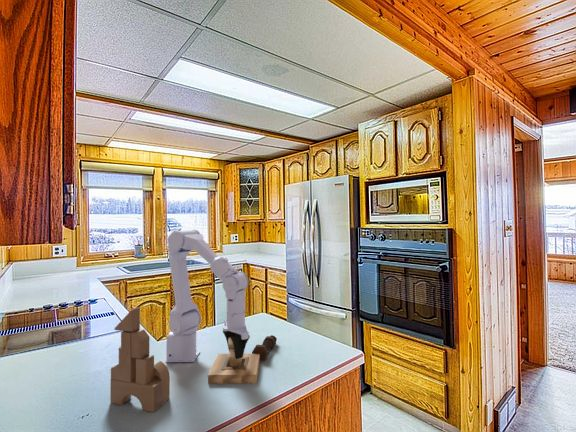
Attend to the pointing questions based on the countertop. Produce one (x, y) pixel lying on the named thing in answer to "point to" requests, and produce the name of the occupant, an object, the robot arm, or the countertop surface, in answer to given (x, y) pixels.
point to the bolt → (265, 347)
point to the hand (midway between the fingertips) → (235, 354)
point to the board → (234, 370)
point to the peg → (233, 355)
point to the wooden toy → (138, 368)
